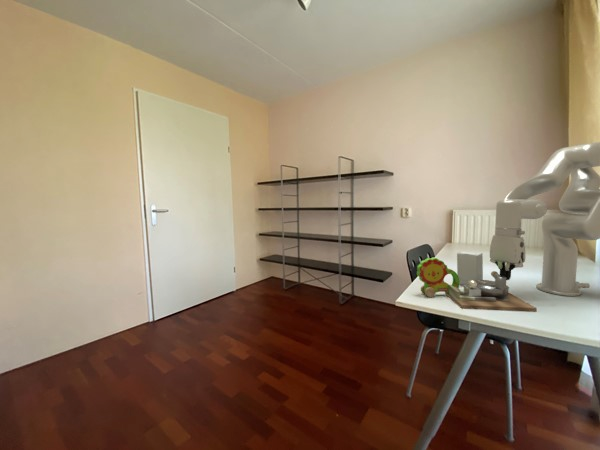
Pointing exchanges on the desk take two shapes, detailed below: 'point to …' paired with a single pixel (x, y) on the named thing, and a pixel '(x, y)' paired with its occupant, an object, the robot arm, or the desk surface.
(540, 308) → the desk surface
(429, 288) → the toy lion
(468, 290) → the block with glass ball
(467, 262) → the skincare box
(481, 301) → the stand
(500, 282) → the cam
